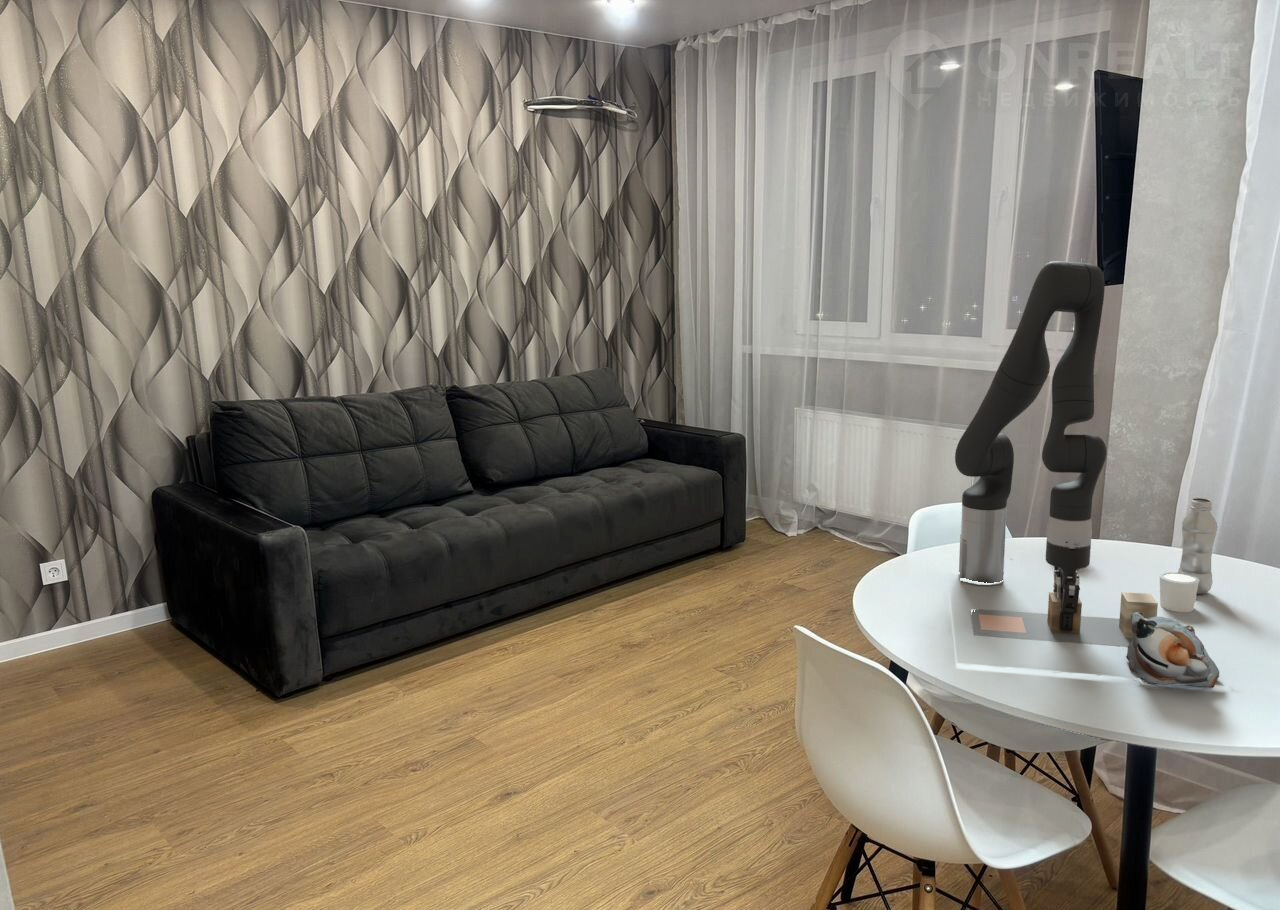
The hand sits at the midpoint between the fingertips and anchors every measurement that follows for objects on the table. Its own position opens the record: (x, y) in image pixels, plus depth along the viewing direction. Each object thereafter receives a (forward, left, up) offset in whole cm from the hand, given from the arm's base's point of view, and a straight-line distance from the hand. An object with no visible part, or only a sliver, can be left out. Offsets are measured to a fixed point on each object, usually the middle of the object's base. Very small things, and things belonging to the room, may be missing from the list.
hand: (1063, 624), depth 172 cm
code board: (0, 0, -1) cm, 1 cm away
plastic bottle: (+29, +28, -2) cm, 40 cm away
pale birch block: (+13, 0, -1) cm, 13 cm away
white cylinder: (+23, +16, -2) cm, 28 cm away
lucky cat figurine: (+14, -18, -2) cm, 23 cm away
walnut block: (0, 0, -1) cm, 1 cm away
